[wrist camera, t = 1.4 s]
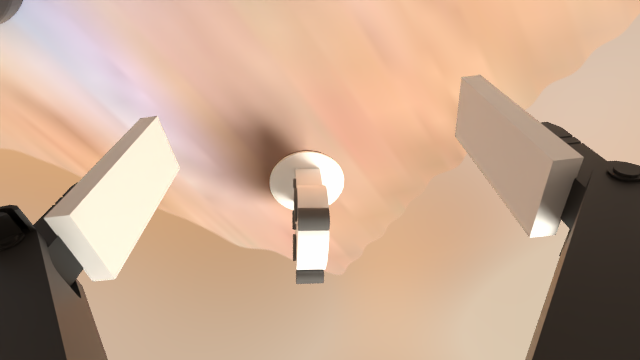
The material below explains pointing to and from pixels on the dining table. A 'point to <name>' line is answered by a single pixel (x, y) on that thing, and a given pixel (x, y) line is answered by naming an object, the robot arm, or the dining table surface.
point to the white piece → (308, 207)
